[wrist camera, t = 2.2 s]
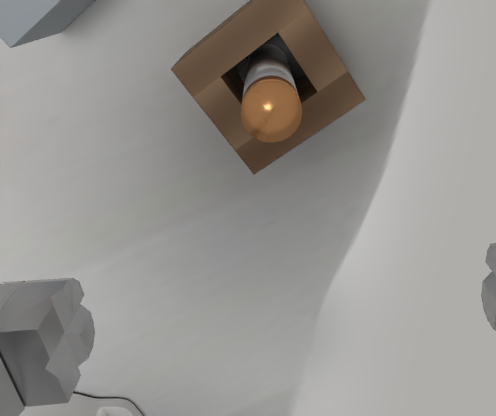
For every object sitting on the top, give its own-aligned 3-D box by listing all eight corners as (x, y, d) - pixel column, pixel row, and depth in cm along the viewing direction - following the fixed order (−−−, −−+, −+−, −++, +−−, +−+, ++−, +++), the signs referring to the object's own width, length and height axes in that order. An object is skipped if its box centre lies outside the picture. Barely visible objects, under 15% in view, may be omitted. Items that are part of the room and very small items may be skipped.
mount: (348, 78, 32) (365, 99, 27) (254, 142, 34) (254, 174, 29) (282, -26, 29) (287, -26, 24) (185, 52, 31) (170, 69, 26)
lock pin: (295, 69, 32) (314, 119, 21) (262, 93, 33) (264, 153, 22) (272, 35, 31) (279, 69, 20) (239, 60, 32) (228, 106, 21)
